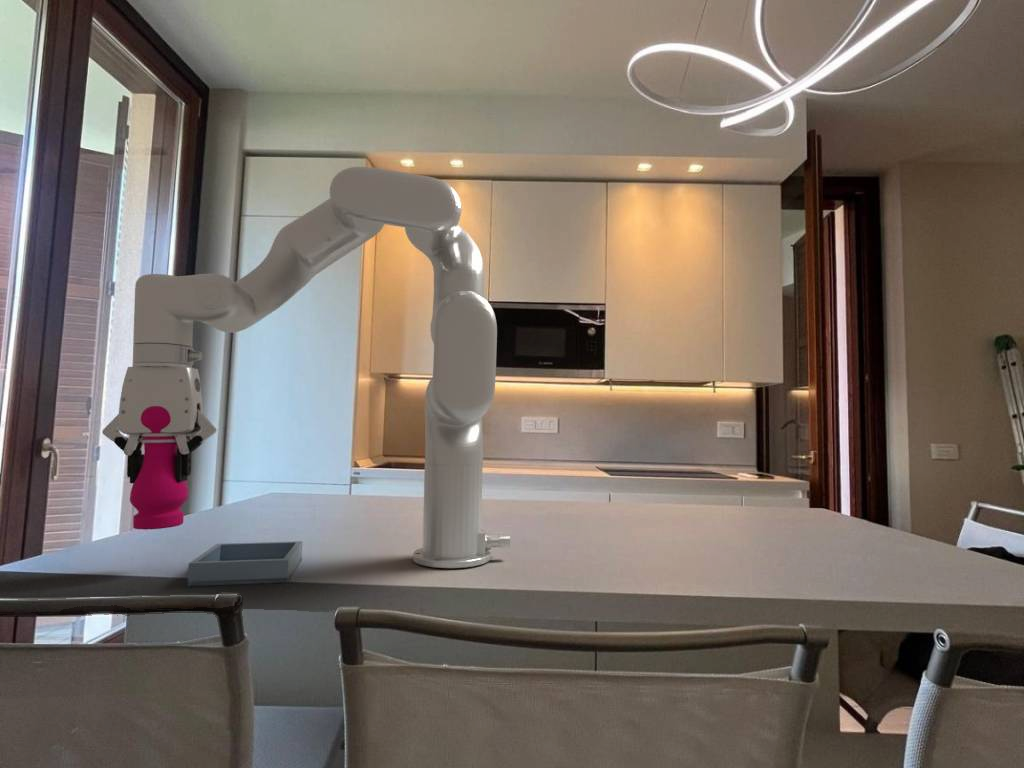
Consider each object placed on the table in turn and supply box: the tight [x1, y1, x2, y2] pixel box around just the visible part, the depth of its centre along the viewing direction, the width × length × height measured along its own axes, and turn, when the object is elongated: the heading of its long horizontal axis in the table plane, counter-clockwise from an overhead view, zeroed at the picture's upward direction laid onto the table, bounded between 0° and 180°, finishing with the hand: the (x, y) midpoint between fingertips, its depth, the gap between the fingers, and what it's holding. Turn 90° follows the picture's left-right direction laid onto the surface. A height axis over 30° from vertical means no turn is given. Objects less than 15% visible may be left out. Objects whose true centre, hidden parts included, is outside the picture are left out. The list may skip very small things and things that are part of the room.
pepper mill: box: [129, 406, 189, 530], centre depth 83 cm, size 7×7×20 cm
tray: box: [187, 540, 303, 587], centre depth 83 cm, size 13×13×3 cm
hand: (159, 480), depth 83 cm, fingers closed on pepper mill, 5 cm apart
